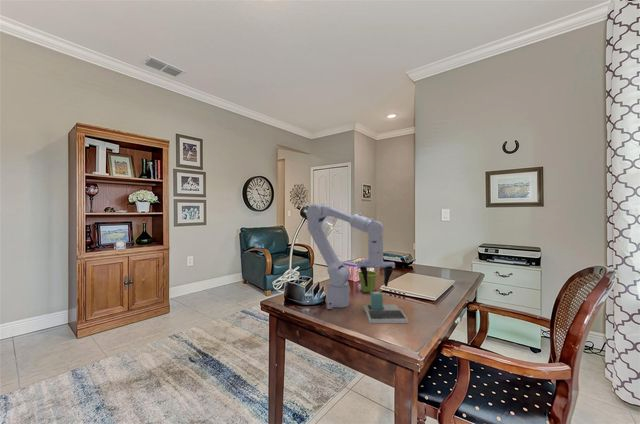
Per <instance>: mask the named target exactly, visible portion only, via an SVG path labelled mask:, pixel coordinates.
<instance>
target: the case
mask: <svg viewBox="0 0 640 424" xmlns="http://www.w3.org/2000/svg"><path fill="white" fill-rule="evenodd" d="M365 314H366V318H367V319H368V324H409V318H408V317H407V315H406V314H405V313H404V311H403V309H399V310H366V312H365Z"/></svg>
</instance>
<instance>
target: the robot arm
mask: <svg viewBox="0 0 640 424" xmlns="http://www.w3.org/2000/svg"><path fill="white" fill-rule="evenodd" d="M305 216H306V219H307V220H306V222H307V231H308V232H309V234H310V236H311V238H312V239H313V241H314V244H315V245H316V247H317V249H318V251H319V252H320V254H321V256H322V258H323V260H324V262H325V264H326V265H327V274H328V276H329V281H330V284H326V299H325V300H326V309H327V310H332V309H333V308H346V307H349V305H350V290H349V289H350V284H349V280H348V279H349V278H350V277H351V272H350V269H349V268H348V267H347V266H345V265H344V264H345V263H343V261H341V260H340V259H339V258H338V256H337V254H336V252H335V251H334V249H333V247H332V245H331V244H330V242H329V239H328V238H327V236H326V234H325V233H324V231H323V228H322V225H323V222H324V221H325V220H326V218H327V217H332V218H335V219H338V220H341V221H344V222H346V223H347V222H348V223H349V225H350V227H351V228H353V229H356V230H359V231H360V232H363V233H367V234H368V241H367V247H368V249H367V251H368V254H367V257H368V261H362V262H361V261H360V262H356V266H357V267H356V268H357V269H360V271H361V272H362V274H363V277H364V281H365V286H366V287H368V283H367V271H368V269H372V268H373V269H375V268H376V269H378V268H380V269H383V274H384V275H383V276H384V278H383V279H384V280H383V281H384V282H383V284H384V287H388V283H389V280H390V277H391V275H392V274H393V272H394V271H393V269H395V268H396V263H395V262H394V261H384V240H383V238H384V237H383V236H384V235H383V232H384V230H385V229H384V228H385V226H384V224H383V223H382V222H381V221H379V220H377V219H376V220H374V218H372V217H371V218H369V217H366V216H365V215H363V213H361V212H359V213H354V214H353V215H352V214H351V213H347V212H346V211H344V210H340V209H339V208H336V207H334V206H331V205H326V204H324V203H320V204H316V203H313V204H310V205H309V206H308V207H307V210H306V213H305ZM309 225H310V226H309Z"/></svg>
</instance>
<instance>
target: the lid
mask: <svg viewBox="0 0 640 424" xmlns="http://www.w3.org/2000/svg"><path fill="white" fill-rule="evenodd" d="M363 308H364V311H365V313H366V310H372V309H371V304H363ZM383 310H400V308H399V307H398V305H397V304H390V303H389V304H383Z"/></svg>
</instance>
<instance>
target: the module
mask: <svg viewBox="0 0 640 424" xmlns="http://www.w3.org/2000/svg"><path fill="white" fill-rule="evenodd" d="M369 294H370V305H371V309H372V310H383V301H384V300H383V299H384V297H383V293H382V292H381V291H374V292H370V293H369Z"/></svg>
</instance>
